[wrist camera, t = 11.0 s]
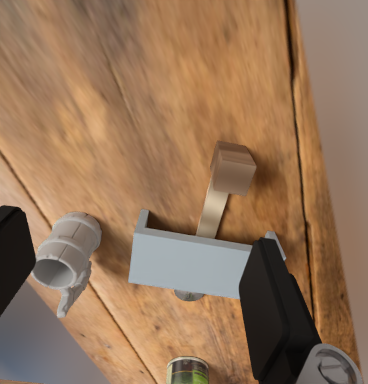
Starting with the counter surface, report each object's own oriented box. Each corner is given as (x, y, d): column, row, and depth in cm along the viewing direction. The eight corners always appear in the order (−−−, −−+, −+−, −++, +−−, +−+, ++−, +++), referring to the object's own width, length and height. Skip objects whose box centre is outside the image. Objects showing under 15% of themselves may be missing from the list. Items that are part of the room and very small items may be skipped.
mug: (97, 207, 41) (64, 262, 31) (114, 262, 47) (91, 324, 36) (51, 211, 42) (3, 266, 31) (73, 264, 47) (39, 326, 37)
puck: (179, 270, 48) (178, 277, 46) (208, 276, 48) (208, 284, 47) (171, 290, 50) (171, 297, 49) (199, 295, 51) (199, 303, 49)
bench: (141, 209, 41) (134, 232, 36) (274, 231, 42) (286, 257, 37) (135, 255, 46) (128, 282, 40) (255, 274, 47) (263, 302, 42)
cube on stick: (217, 140, 35) (222, 160, 29) (245, 145, 35) (256, 166, 29) (188, 250, 45) (188, 281, 39) (210, 253, 45) (214, 285, 39)
